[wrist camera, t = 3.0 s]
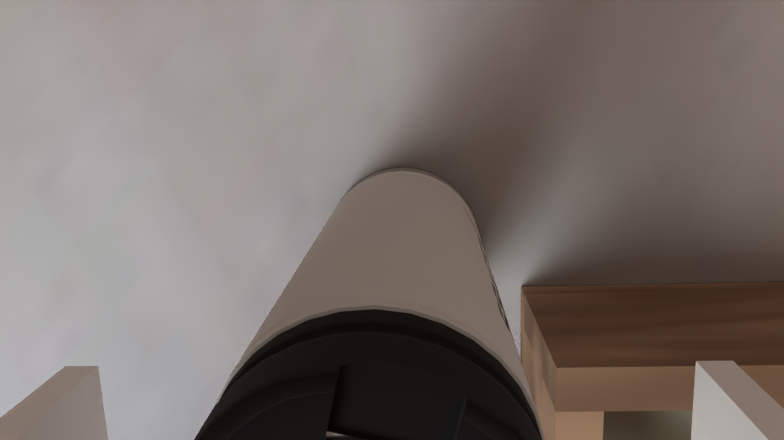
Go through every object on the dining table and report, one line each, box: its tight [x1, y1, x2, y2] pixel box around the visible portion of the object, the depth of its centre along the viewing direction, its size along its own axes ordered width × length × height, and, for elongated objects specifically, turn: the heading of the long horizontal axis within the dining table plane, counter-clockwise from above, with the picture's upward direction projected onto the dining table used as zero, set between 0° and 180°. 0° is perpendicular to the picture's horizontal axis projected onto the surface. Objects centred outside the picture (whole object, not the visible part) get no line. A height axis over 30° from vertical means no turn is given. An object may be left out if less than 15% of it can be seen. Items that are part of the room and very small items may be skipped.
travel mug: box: [194, 168, 545, 440], centre depth 19 cm, size 6×7×20 cm
